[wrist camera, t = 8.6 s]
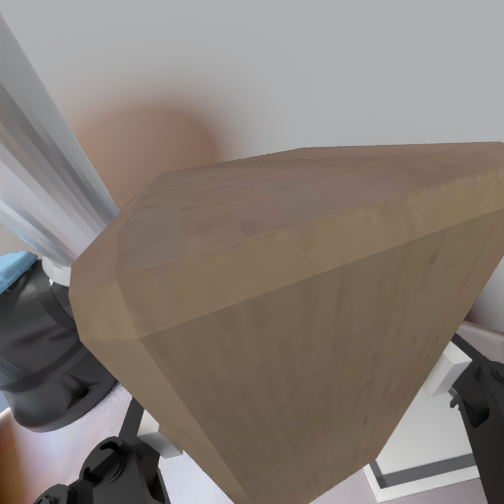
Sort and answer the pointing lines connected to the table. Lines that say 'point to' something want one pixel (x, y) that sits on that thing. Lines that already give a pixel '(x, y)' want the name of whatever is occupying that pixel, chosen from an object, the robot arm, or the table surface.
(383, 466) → the mat
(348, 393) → the wooden block
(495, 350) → the table surface
